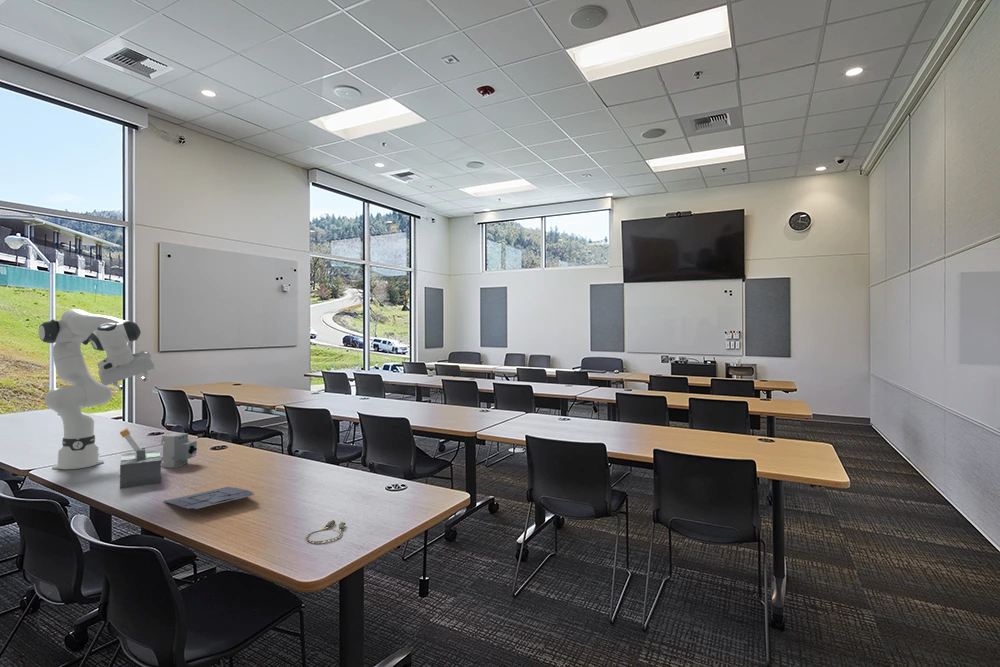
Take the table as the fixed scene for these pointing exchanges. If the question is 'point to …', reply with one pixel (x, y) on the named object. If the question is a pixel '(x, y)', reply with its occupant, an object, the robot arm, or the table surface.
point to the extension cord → (331, 525)
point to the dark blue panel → (210, 497)
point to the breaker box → (140, 468)
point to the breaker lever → (130, 439)
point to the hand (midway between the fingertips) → (133, 384)
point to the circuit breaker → (177, 449)
